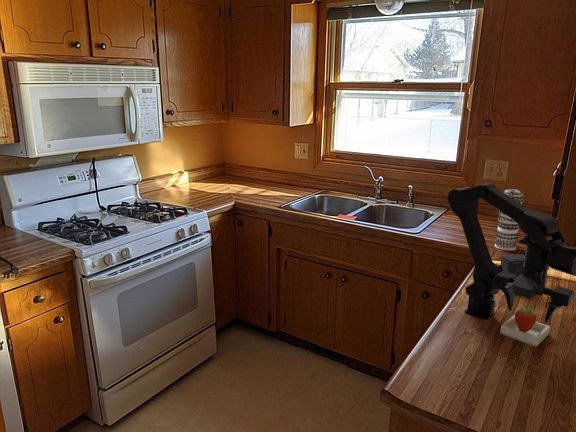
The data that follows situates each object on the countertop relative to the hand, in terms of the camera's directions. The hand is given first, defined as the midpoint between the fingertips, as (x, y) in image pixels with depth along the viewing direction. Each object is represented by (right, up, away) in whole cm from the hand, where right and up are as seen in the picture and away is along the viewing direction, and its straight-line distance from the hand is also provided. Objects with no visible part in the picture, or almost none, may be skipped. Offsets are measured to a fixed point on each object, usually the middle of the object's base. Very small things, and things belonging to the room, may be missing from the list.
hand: (527, 316), depth 123 cm
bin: (0, -5, +2) cm, 6 cm away
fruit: (0, -5, +2) cm, 5 cm away
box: (+12, +3, +33) cm, 35 cm away
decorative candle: (+28, +14, +71) cm, 78 cm away
